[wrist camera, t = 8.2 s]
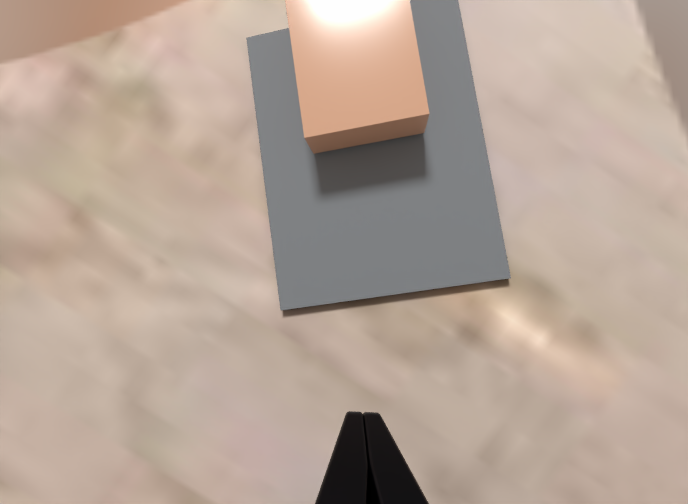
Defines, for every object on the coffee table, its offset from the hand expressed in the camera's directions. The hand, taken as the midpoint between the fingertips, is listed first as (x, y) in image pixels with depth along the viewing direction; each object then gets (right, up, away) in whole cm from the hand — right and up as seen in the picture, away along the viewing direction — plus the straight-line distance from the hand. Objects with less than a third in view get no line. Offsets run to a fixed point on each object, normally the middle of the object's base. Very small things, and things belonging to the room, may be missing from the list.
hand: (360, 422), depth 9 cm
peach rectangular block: (+1, +11, +12) cm, 16 cm away
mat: (+1, +11, +13) cm, 17 cm away
